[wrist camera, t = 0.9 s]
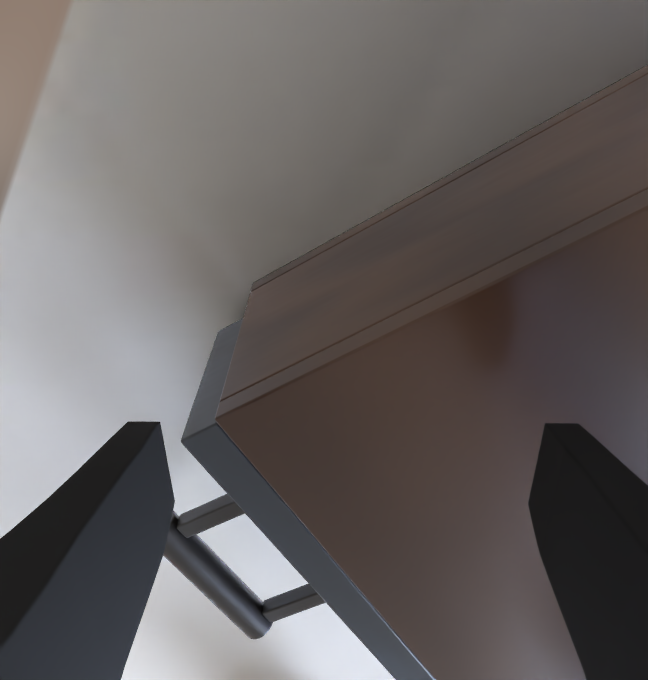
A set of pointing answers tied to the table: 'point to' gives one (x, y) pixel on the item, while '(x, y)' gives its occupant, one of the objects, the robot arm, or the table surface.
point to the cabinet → (459, 381)
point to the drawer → (277, 525)
